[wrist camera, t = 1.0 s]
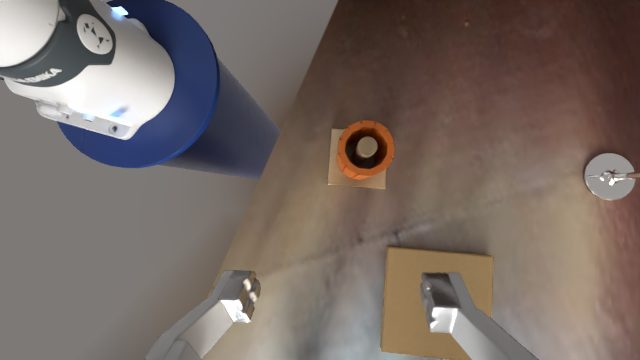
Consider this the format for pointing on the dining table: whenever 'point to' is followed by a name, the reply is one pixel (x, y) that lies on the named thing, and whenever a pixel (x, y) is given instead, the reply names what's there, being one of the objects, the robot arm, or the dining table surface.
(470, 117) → the dining table surface
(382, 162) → the orange ring
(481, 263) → the cork mat
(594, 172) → the wineglass
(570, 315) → the dining table surface
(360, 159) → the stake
